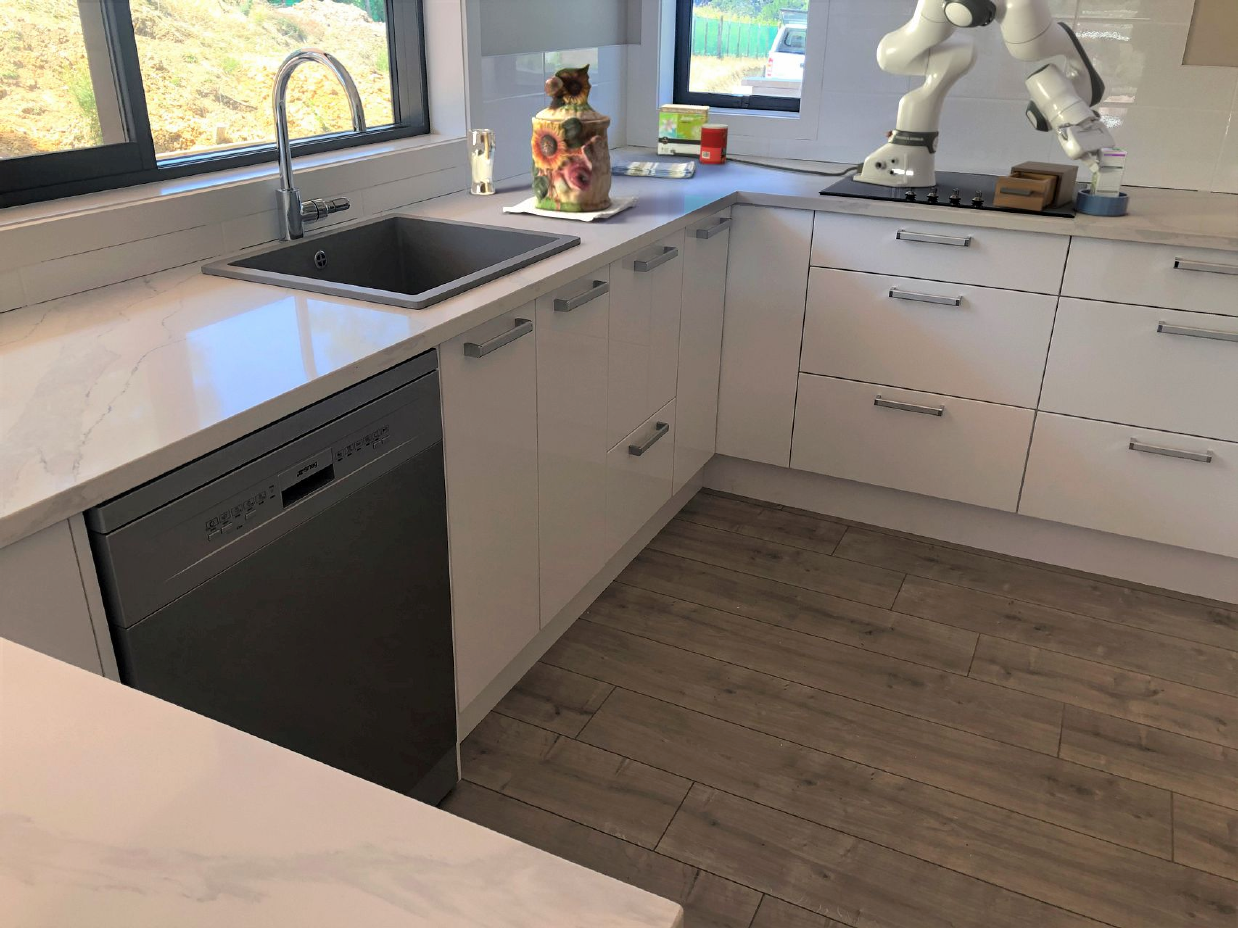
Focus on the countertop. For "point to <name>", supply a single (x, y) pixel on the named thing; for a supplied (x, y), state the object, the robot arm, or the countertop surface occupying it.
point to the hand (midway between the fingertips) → (1105, 169)
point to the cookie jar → (571, 154)
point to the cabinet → (1063, 172)
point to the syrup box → (1108, 172)
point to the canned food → (713, 143)
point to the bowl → (1101, 204)
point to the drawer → (1025, 190)
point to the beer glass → (482, 160)
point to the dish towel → (654, 169)
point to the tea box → (681, 128)
